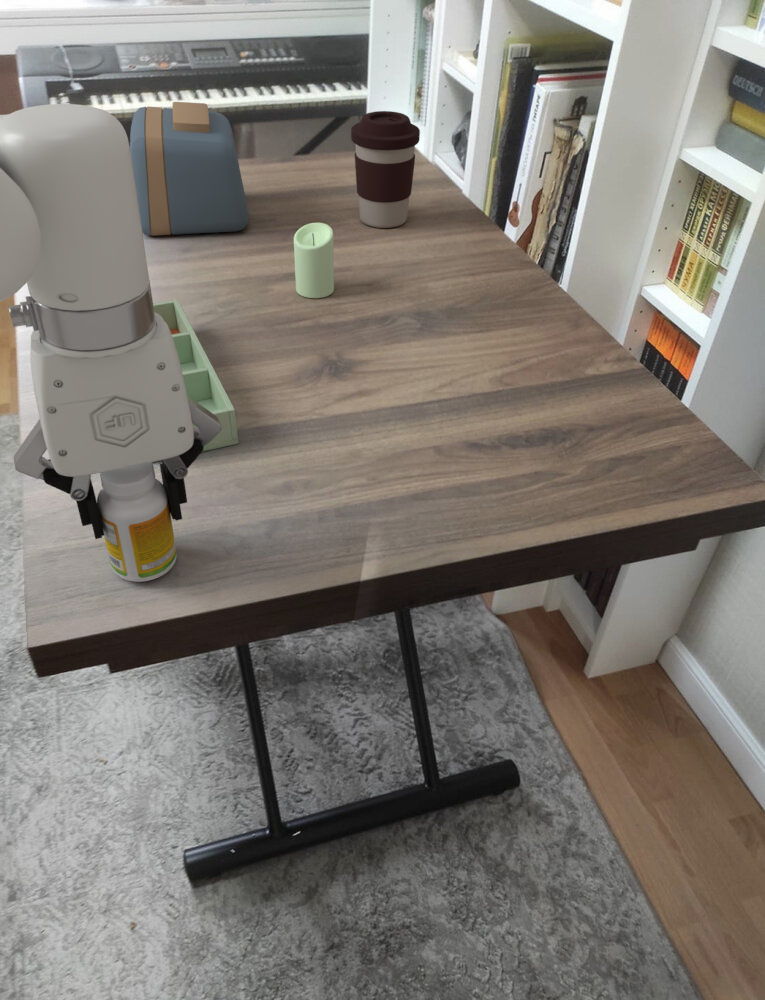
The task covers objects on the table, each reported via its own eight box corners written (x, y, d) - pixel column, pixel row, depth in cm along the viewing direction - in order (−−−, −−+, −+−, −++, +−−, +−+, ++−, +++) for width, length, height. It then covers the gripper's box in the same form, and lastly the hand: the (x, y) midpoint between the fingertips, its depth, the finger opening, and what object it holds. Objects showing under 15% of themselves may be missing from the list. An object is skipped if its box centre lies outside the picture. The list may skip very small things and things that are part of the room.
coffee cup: (354, 233, 124) (354, 128, 115) (348, 209, 132) (347, 107, 122) (420, 231, 126) (425, 127, 116) (410, 207, 133) (414, 107, 123)
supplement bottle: (185, 542, 72) (171, 451, 66) (166, 587, 68) (150, 493, 61) (123, 536, 72) (104, 445, 66) (101, 580, 68) (78, 487, 62)
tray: (151, 463, 81) (144, 428, 78) (108, 343, 98) (101, 311, 95) (238, 443, 83) (235, 409, 81) (182, 330, 101) (177, 299, 98)
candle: (322, 302, 107) (320, 240, 102) (288, 293, 109) (285, 232, 104) (340, 287, 111) (340, 226, 105) (308, 278, 112) (306, 219, 107)
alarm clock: (140, 200, 133) (122, 92, 122) (243, 195, 135) (234, 89, 125) (137, 241, 120) (117, 125, 110) (251, 235, 123) (242, 121, 113)
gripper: (-43, 360, 50) (27, 576, 61) (236, 317, 56) (253, 522, 67) (-47, 306, 55) (18, 514, 67) (208, 271, 61) (228, 469, 72)
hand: (135, 516), depth 67 cm, fingers closed on supplement bottle, 5 cm apart
